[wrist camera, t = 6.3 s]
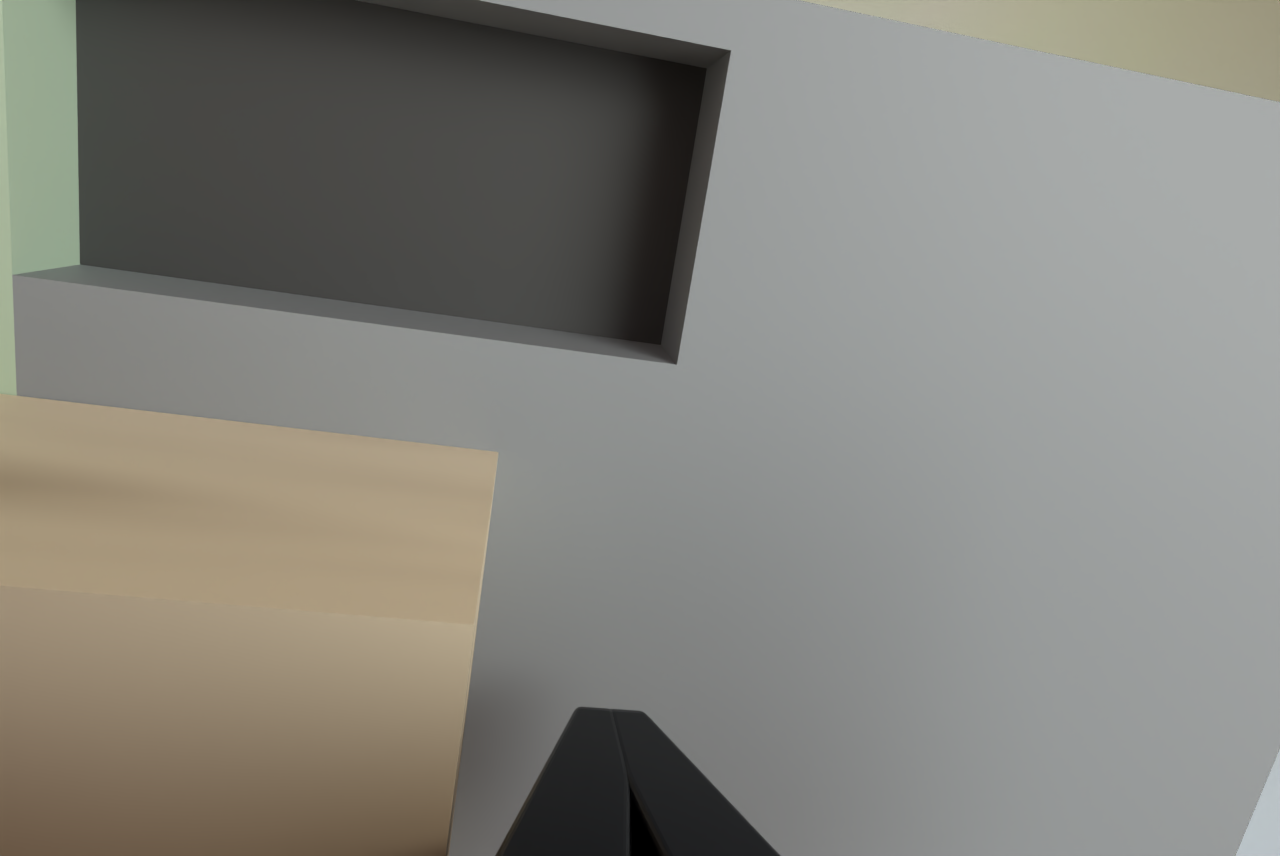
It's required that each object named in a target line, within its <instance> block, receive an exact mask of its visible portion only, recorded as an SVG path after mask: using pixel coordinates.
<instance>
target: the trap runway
mask: <svg viewBox="0 0 1280 856" xmlns="http://www.w3.org/2000/svg"><path fill="white" fill-rule="evenodd" d="M0 394H7V395H15V396H24V397H33V398H41V399H50V400H58V401H67V402H75V403H84V404H92V405H101V406H110V407H118V408H127V409H135V410H144V411H152V412H161V413H169V414H178V415H186V416H195V417H204V418H212V419H221V420H229V421H238V422H246V423H255V424H263V425H272V426H281V427H289V428H298V429H306V430H315V431H323V432H332V433H340V434H349V435H358V436H366V437H375V438H383V439H392V440H400V441H409V442H417V443H426V444H434V445H443V446H452V447H460V448H469V449H477V450H486V451H494V452H498V460H497V469H496V477H495V485H494V493H493V501H492V509H491V517H490V525H489V533H488V541H487V550H486V558H485V566H484V574H483V582H482V590H481V598H480V606H479V614H478V622H477V630H476V639H475V647H474V655H473V663H472V671H471V679H470V687H469V695H468V703H467V711H466V720H465V728H464V736H463V744H462V752H461V760H460V768H459V776H458V784H457V792H456V800H455V809H454V817H453V825H452V833H451V841H450V849H449V856H495V855H496V853H497V852H498V850H499V848H500V846H501V844H502V842H503V840H504V839H505V837H506V835H507V833H508V831H509V829H510V828H511V826H512V824H513V822H514V820H515V818H516V817H517V815H518V813H519V811H520V809H521V807H522V806H523V804H524V802H525V800H526V798H527V796H528V795H529V793H530V791H531V789H532V787H533V785H534V783H535V782H536V780H537V778H538V776H539V774H540V772H541V771H542V769H543V767H544V765H545V763H546V761H547V760H548V758H549V756H550V754H551V752H552V750H553V749H554V747H555V745H556V743H557V741H558V739H559V738H560V736H561V734H562V732H563V730H564V728H565V726H566V725H567V723H568V721H569V719H570V717H571V715H572V714H573V712H574V710H575V709H576V708H577V707H581V706H582V707H596V708H608V709H624V710H638V711H643V712H644V713H646V714H647V715H648V716H649V717H650V718H651V719H652V720H653V721H654V722H655V723H656V724H657V726H658V727H659V728H660V729H661V730H662V731H663V732H664V733H665V734H666V735H667V736H668V737H669V738H670V739H671V740H672V741H673V742H674V743H675V745H676V746H677V747H678V748H679V749H680V750H681V751H682V752H683V753H684V754H685V755H686V756H687V757H688V758H689V759H690V760H691V761H692V762H693V764H694V765H695V766H696V767H697V768H698V769H699V770H700V771H701V772H702V773H703V774H704V775H705V776H706V777H707V778H708V779H709V780H710V782H711V783H712V784H713V785H714V786H715V787H716V788H717V789H718V790H719V791H720V792H721V793H722V794H723V795H724V796H725V797H726V798H727V799H728V801H729V802H730V803H731V804H732V805H733V806H734V807H735V808H736V809H737V810H738V811H739V812H740V813H741V814H742V815H743V816H744V817H745V818H746V820H747V821H748V822H749V823H750V824H751V825H752V826H753V827H754V828H755V829H756V830H757V831H758V832H759V833H760V834H761V835H762V836H763V838H764V839H765V840H766V841H767V842H768V843H769V844H770V845H771V846H772V847H773V848H774V849H775V850H776V851H777V852H778V853H779V854H780V855H781V856H1235V855H1236V853H1237V851H1238V848H1239V846H1240V843H1241V841H1242V839H1243V836H1244V834H1245V831H1246V829H1247V826H1248V824H1249V822H1250V819H1251V817H1252V814H1253V812H1254V810H1255V807H1256V805H1257V802H1258V800H1259V797H1260V795H1261V793H1262V790H1263V788H1264V785H1265V783H1266V781H1267V778H1268V776H1269V773H1270V771H1271V768H1272V766H1273V764H1274V761H1275V759H1276V756H1277V754H1278V752H1279V749H1280V102H1277V101H1272V100H1267V99H1263V98H1258V97H1253V96H1248V95H1244V94H1239V93H1234V92H1230V91H1225V90H1220V89H1215V88H1211V87H1206V86H1201V85H1196V84H1192V83H1187V82H1182V81H1178V80H1173V79H1168V78H1163V77H1159V76H1154V75H1149V74H1145V73H1140V72H1135V71H1130V70H1126V69H1121V68H1116V67H1111V66H1107V65H1102V64H1097V63H1093V62H1088V61H1083V60H1078V59H1074V58H1069V57H1064V56H1059V55H1055V54H1050V53H1045V52H1041V51H1036V50H1031V49H1026V48H1022V47H1017V46H1012V45H1008V44H1003V43H998V42H993V41H989V40H984V39H979V38H974V37H970V36H965V35H960V34H956V33H951V32H946V31H941V30H937V29H932V28H927V27H922V26H918V25H913V24H908V23H904V22H899V21H894V20H889V19H885V18H880V17H875V16H870V15H866V14H861V13H856V12H852V11H847V10H842V9H837V8H833V7H828V6H823V5H819V4H814V3H809V2H804V1H800V0H0Z"/></svg>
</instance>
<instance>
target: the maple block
mask: <svg viewBox="0 0 1280 856" xmlns="http://www.w3.org/2000/svg"><path fill="white" fill-rule="evenodd" d="M497 460H498V452H494V451H486V450H477V449H469V448H460V447H452V446H443V445H434V444H426V443H417V442H409V441H400V440H392V439H383V438H375V437H366V436H358V435H349V434H340V433H332V432H323V431H315V430H306V429H298V428H289V427H281V426H272V425H263V424H255V423H246V422H238V421H229V420H221V419H212V418H204V417H195V416H186V415H178V414H169V413H161V412H152V411H144V410H135V409H127V408H118V407H110V406H101V405H92V404H84V403H75V402H67V401H58V400H50V399H41V398H33V397H24V396H15V395H7V394H0V856H449V849H450V841H451V833H452V825H453V817H454V809H455V800H456V792H457V784H458V776H459V768H460V760H461V752H462V744H463V736H464V728H465V720H466V711H467V703H468V695H469V687H470V679H471V671H472V663H473V655H474V647H475V639H476V630H477V622H478V614H479V606H480V598H481V590H482V582H483V574H484V566H485V558H486V550H487V541H488V533H489V525H490V517H491V509H492V501H493V493H494V485H495V477H496V469H497Z"/></svg>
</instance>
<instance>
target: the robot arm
mask: <svg viewBox="0 0 1280 856" xmlns="http://www.w3.org/2000/svg"><path fill="white" fill-rule="evenodd" d="M495 856H781V855H780V854H779V853H778V852H777V851H776V850H775V849H774V848H773V847H772V846H771V845H770V844H769V843H768V842H767V841H766V840H765V839H764V838H763V836H762V835H761V834H760V833H759V832H758V831H757V830H756V829H755V828H754V827H753V826H752V825H751V824H750V823H749V822H748V821H747V820H746V818H745V817H744V816H743V815H742V814H741V813H740V812H739V811H738V810H737V809H736V808H735V807H734V806H733V805H732V804H731V803H730V802H729V801H728V799H727V798H726V797H725V796H724V795H723V794H722V793H721V792H720V791H719V790H718V789H717V788H716V787H715V786H714V785H713V784H712V783H711V782H710V780H709V779H708V778H707V777H706V776H705V775H704V774H703V773H702V772H701V771H700V770H699V769H698V768H697V767H696V766H695V765H694V764H693V762H692V761H691V760H690V759H689V758H688V757H687V756H686V755H685V754H684V753H683V752H682V751H681V750H680V749H679V748H678V747H677V746H676V745H675V743H674V742H673V741H672V740H671V739H670V738H669V737H668V736H667V735H666V734H665V733H664V732H663V731H662V730H661V729H660V728H659V727H658V726H657V724H656V723H655V722H654V721H653V720H652V719H651V718H650V717H649V716H648V715H647V714H646V713H644V712H643V711H638V710H624V709H608V708H596V707H582V706H581V707H577V708H576V709H575V710H574V712H573V714H572V715H571V717H570V719H569V721H568V723H567V725H566V726H565V728H564V730H563V732H562V734H561V736H560V738H559V739H558V741H557V743H556V745H555V747H554V749H553V750H552V752H551V754H550V756H549V758H548V760H547V761H546V763H545V765H544V767H543V769H542V771H541V772H540V774H539V776H538V778H537V780H536V782H535V783H534V785H533V787H532V789H531V791H530V793H529V795H528V796H527V798H526V800H525V802H524V804H523V806H522V807H521V809H520V811H519V813H518V815H517V817H516V818H515V820H514V822H513V824H512V826H511V828H510V829H509V831H508V833H507V835H506V837H505V839H504V840H503V842H502V844H501V846H500V848H499V850H498V852H497V853H496V855H495Z"/></svg>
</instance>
